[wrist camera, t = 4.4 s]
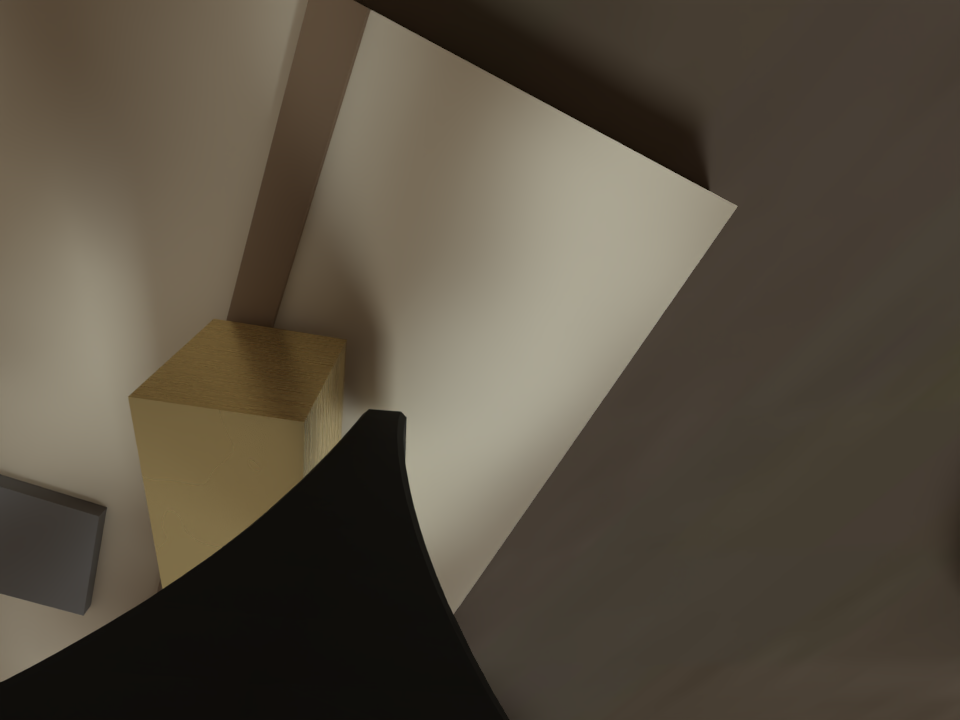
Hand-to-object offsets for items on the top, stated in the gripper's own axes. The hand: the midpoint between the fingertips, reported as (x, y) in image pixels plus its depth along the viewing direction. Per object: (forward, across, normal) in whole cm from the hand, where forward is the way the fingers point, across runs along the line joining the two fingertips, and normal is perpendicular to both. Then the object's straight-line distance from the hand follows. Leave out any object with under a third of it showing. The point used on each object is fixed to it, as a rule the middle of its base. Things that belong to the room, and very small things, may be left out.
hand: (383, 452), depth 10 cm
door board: (+2, +3, +3) cm, 5 cm away
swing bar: (+1, +2, +3) cm, 4 cm away
